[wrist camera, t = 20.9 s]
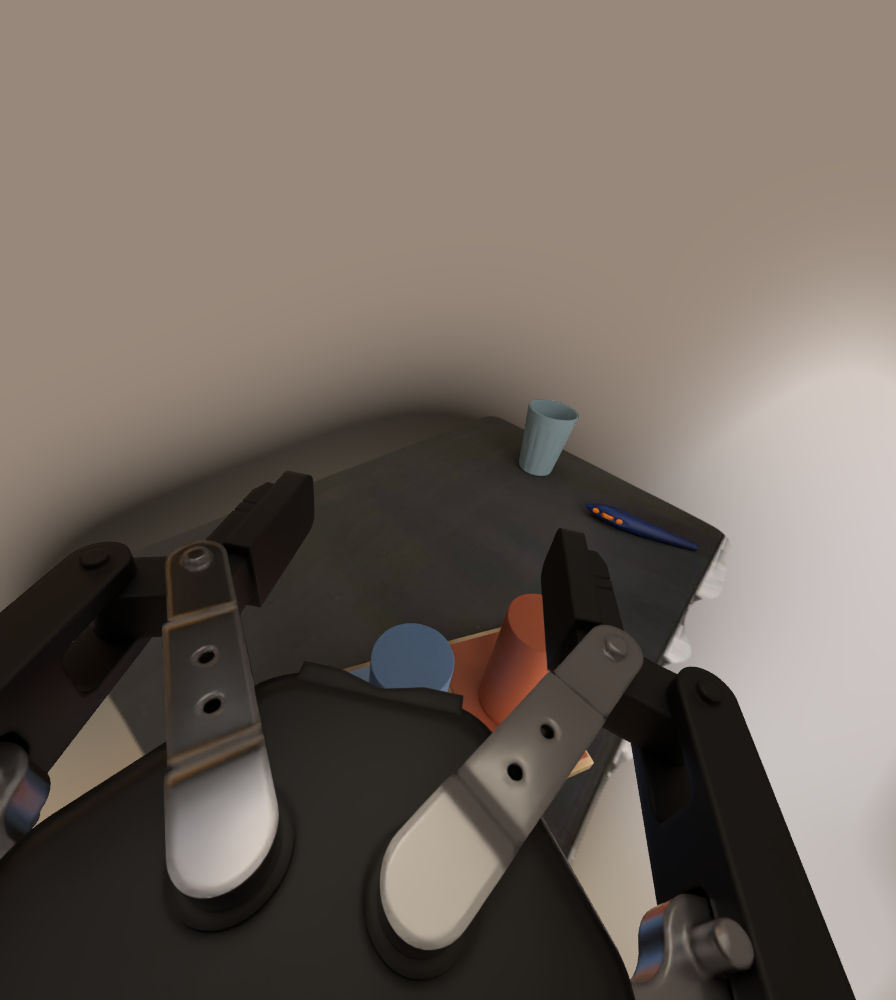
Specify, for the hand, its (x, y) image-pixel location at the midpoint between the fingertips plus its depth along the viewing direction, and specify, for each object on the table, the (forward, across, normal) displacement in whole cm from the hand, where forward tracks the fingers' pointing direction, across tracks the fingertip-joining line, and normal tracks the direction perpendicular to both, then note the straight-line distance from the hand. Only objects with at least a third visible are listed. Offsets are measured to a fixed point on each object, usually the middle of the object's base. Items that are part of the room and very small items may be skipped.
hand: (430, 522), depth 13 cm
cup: (+50, -12, +25) cm, 58 cm away
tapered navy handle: (+38, -27, +25) cm, 53 cm away
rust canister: (+9, -8, +24) cm, 27 cm away
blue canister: (+4, 0, +24) cm, 24 cm away
